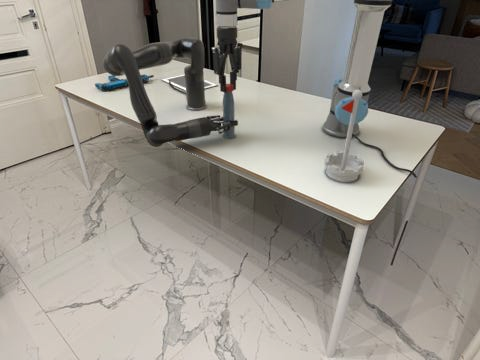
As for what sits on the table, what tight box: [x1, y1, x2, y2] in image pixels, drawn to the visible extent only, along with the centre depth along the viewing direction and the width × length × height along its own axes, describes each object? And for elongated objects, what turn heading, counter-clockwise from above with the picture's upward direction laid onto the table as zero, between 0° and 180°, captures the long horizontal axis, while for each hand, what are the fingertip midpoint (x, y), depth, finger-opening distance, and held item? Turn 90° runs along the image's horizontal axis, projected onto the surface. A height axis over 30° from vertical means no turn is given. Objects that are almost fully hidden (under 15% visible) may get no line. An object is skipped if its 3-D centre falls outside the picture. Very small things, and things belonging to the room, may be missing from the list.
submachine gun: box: [94, 74, 155, 91], centre depth 208 cm, size 34×4×25 cm
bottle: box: [222, 91, 236, 139], centre depth 140 cm, size 5×5×21 cm
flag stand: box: [323, 90, 365, 183], centre depth 111 cm, size 13×13×30 cm
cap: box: [226, 83, 235, 93], centre depth 134 cm, size 5×5×2 cm
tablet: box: [161, 74, 219, 92], centre depth 208 cm, size 32×20×1 cm, turn 41°
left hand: (234, 120), depth 143 cm, fingers closed on bottle, 4 cm apart
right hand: (228, 90), depth 135 cm, fingers closed on cap, 4 cm apart
